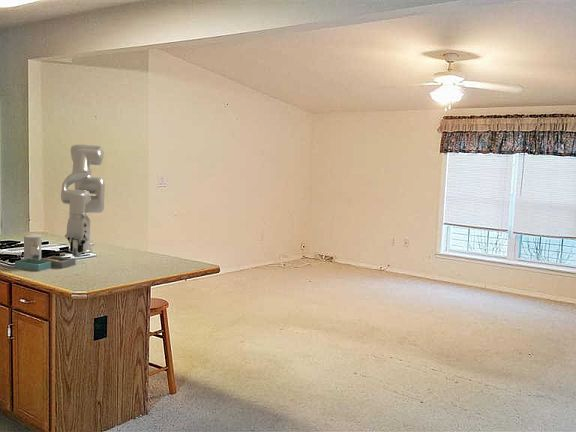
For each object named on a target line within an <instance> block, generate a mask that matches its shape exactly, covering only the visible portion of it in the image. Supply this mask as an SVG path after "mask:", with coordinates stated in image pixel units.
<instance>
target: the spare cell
mask: <svg viewBox="0 0 576 432" xmlns="http://www.w3.org/2000/svg"><path fill="white" fill-rule="evenodd" d="M31 259H36V260H40V246H37V245H34V246H31Z"/></svg>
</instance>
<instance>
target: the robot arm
mask: <svg viewBox="0 0 576 432" xmlns="http://www.w3.org/2000/svg"><path fill="white" fill-rule="evenodd" d="M104 152H105V151H104V148H103V147H102V146H101V145H90V144H74V145H72V146H71V147H70V156H71V161H72V172H71V173H70V174H69V175H68V176H67V177H66V178H65V179H64V180H63V182H62V183H61V184H62V185H61V191H60V192H61V193H60V199H61V202H62V203H63V204H66V205H69V214H68V216H69V217H68V220H67V223H66V224H67V225H66V233H65V235H64V238H65V239H67V241H68V242H69V248H68V252H69V253H72V248H73V239H78V240H79V245H78V253H80V252H81V254H87V253H88V254H89V253H91V252H93V248H92V247H93V246H95V243H94V242H91V239H90V238H91V219H90V218H89V216H88V215H87V214H86V213H89V214H90V213H91V214H99V213H103V211H104V209H105V188H106V187H105V186H106V185H105V181H104V179H103V178H101V177H98V176H92V167H91V166H93V165H94V166H101V164H102V163H103V158H104V156H105V155H104V154H105V153H104ZM73 184H74V189H69V187H70V186H71V185H73Z"/></svg>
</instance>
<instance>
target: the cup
mask: <svg viewBox="0 0 576 432" xmlns="http://www.w3.org/2000/svg"><path fill="white" fill-rule="evenodd" d="M34 245H37V246H40V259H42V235H40V234H26V235H24V236H23V260H24V259H28V258H29V259H31V246H34Z"/></svg>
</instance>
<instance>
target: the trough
mask: <svg viewBox="0 0 576 432" xmlns="http://www.w3.org/2000/svg"><path fill="white" fill-rule="evenodd" d="M14 268H16V269H22V270H27V271H35V272H41V271H44V270H48V269H52V267H51V262H49V261H42V260H36V259H29V258H28V259H24V258H23V259H20V260H15V261H14Z"/></svg>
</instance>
